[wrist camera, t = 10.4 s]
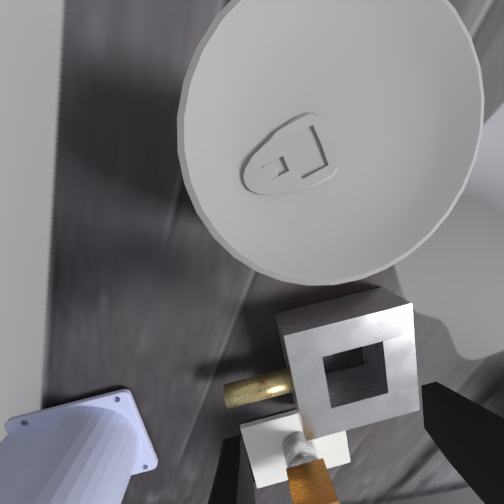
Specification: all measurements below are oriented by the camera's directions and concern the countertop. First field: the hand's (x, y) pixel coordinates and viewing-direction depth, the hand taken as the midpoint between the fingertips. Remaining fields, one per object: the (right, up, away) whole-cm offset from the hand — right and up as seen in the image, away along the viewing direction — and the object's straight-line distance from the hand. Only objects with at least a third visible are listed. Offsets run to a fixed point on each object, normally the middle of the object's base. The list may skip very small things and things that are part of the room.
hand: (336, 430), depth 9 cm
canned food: (-2, +12, +8) cm, 14 cm away
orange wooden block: (+1, -10, +12) cm, 16 cm away
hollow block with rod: (+2, -2, +11) cm, 11 cm away
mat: (+1, -11, +12) cm, 16 cm away
